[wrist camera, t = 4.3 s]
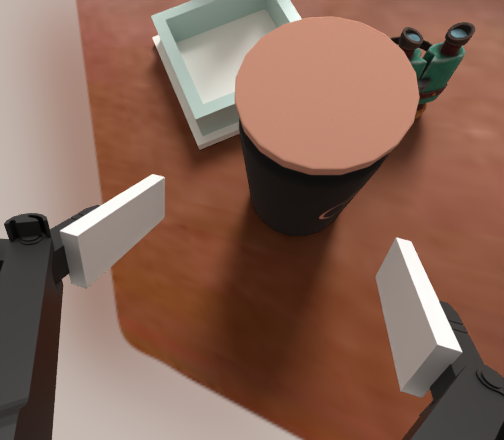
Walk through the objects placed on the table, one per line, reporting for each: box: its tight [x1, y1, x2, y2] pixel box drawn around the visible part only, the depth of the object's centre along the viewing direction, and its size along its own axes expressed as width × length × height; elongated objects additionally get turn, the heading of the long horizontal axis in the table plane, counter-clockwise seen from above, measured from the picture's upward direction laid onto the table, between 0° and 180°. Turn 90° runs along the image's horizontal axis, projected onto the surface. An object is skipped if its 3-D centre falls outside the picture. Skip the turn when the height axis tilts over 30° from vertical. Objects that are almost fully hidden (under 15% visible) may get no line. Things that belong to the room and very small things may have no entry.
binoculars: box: [390, 22, 475, 119], centre depth 32 cm, size 9×11×10 cm
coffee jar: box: [234, 17, 420, 236], centre depth 25 cm, size 11×11×18 cm
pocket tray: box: [151, 0, 301, 150], centre depth 37 cm, size 19×19×4 cm
